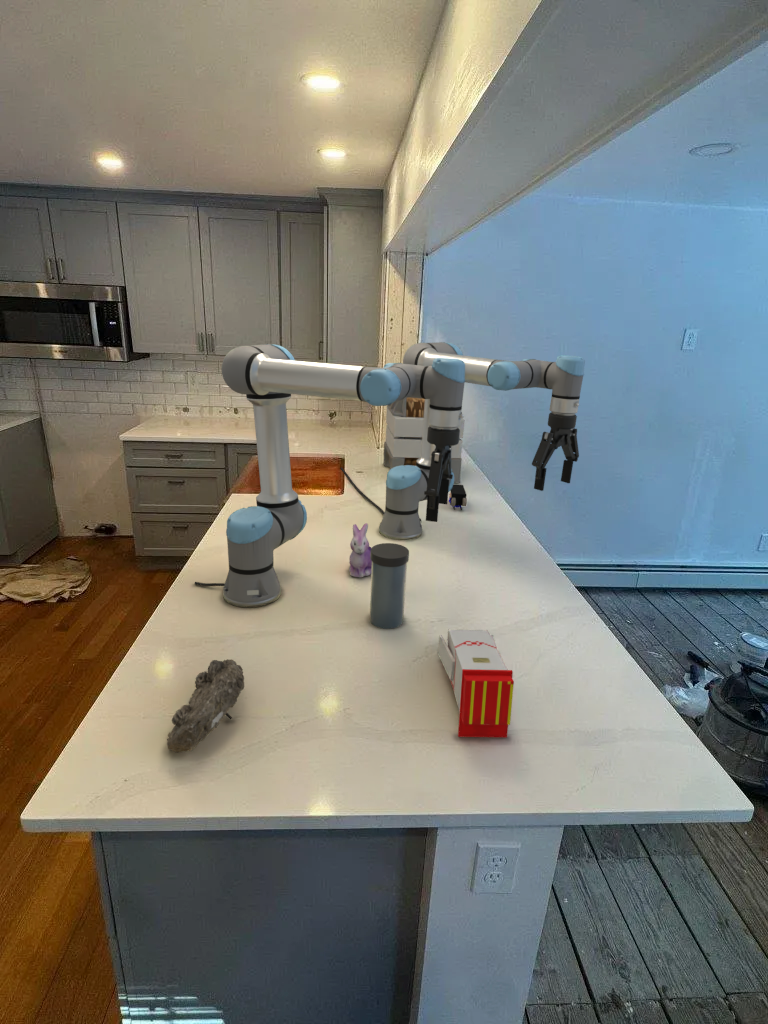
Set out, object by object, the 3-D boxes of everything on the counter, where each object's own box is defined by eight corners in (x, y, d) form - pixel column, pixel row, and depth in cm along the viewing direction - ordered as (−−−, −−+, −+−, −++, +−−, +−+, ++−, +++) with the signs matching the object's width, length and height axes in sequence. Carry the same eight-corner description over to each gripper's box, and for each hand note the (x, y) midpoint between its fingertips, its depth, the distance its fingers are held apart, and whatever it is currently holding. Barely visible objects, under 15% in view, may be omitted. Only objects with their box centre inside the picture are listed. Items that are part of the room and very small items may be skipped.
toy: (488, 613, 130) (523, 677, 101) (484, 667, 133) (517, 744, 104) (435, 612, 130) (455, 676, 101) (432, 666, 133) (451, 743, 103)
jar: (362, 618, 144) (364, 551, 138) (386, 607, 150) (389, 542, 144) (386, 632, 139) (389, 562, 132) (410, 620, 145) (414, 553, 138)
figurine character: (467, 515, 225) (461, 499, 238) (469, 498, 221) (463, 482, 235) (450, 514, 224) (445, 498, 238) (452, 497, 221) (447, 482, 234)
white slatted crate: (382, 463, 289) (386, 382, 275) (445, 464, 293) (451, 384, 279) (390, 482, 257) (394, 392, 243) (460, 483, 261) (468, 394, 247)
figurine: (354, 581, 164) (356, 533, 159) (340, 567, 172) (341, 520, 167) (383, 575, 168) (386, 528, 163) (368, 562, 176) (370, 516, 171)
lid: (362, 557, 139) (362, 549, 138) (389, 548, 145) (389, 540, 144) (389, 570, 132) (389, 562, 132) (416, 559, 139) (416, 551, 138)
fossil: (192, 660, 117) (244, 628, 112) (224, 691, 120) (276, 661, 115) (142, 746, 98) (202, 712, 93) (182, 779, 101) (242, 748, 96)
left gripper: (451, 438, 120) (442, 531, 128) (467, 419, 143) (459, 498, 150) (416, 435, 122) (410, 526, 129) (438, 416, 145) (431, 495, 152)
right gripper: (548, 419, 148) (537, 496, 155) (598, 411, 163) (586, 482, 171) (525, 414, 153) (515, 489, 160) (575, 407, 169) (564, 476, 176)
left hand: (436, 511), depth 140 cm, fingers open, 13 cm apart
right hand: (552, 485), depth 166 cm, fingers open, 13 cm apart
